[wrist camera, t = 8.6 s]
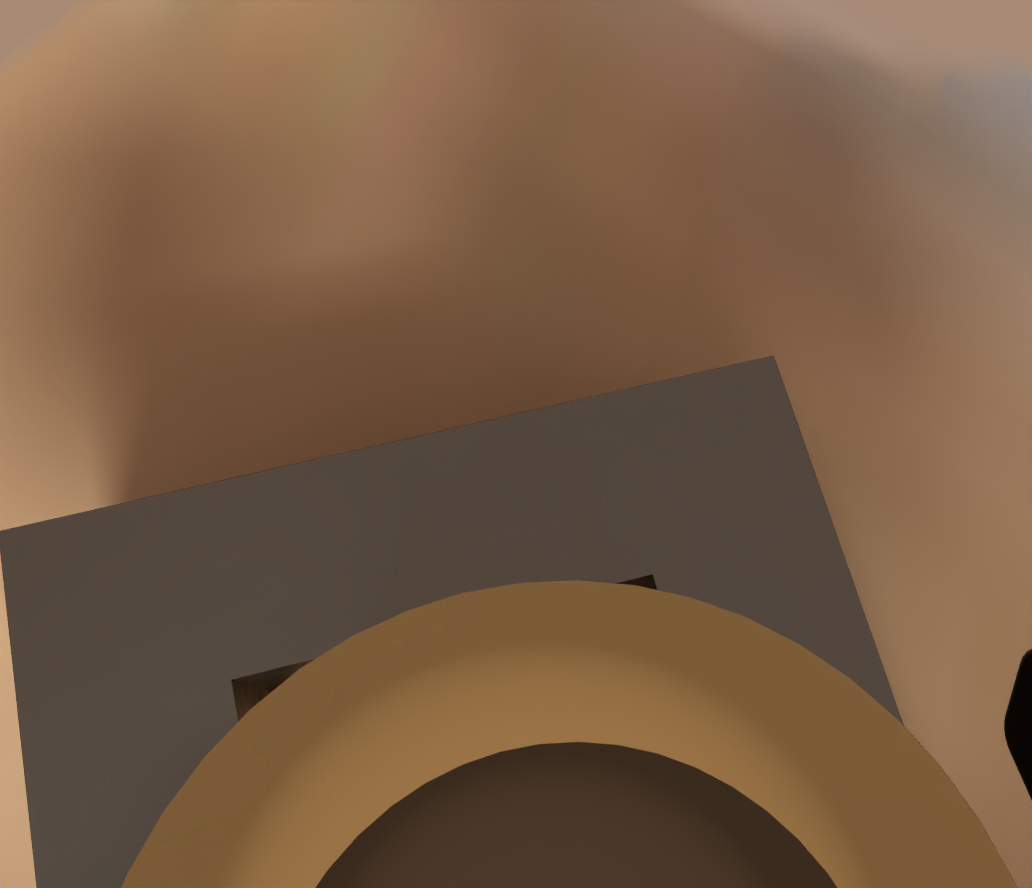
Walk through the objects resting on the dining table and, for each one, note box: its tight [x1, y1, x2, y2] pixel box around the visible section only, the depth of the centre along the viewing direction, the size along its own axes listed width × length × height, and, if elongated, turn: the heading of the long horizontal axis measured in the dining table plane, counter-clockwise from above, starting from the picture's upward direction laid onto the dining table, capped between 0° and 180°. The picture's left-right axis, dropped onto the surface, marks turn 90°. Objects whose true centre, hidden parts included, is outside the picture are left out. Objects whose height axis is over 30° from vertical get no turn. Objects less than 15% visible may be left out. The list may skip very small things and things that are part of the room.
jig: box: [0, 356, 904, 888], centre depth 14 cm, size 11×11×4 cm
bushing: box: [121, 580, 1017, 888], centre depth 10 cm, size 4×4×12 cm
